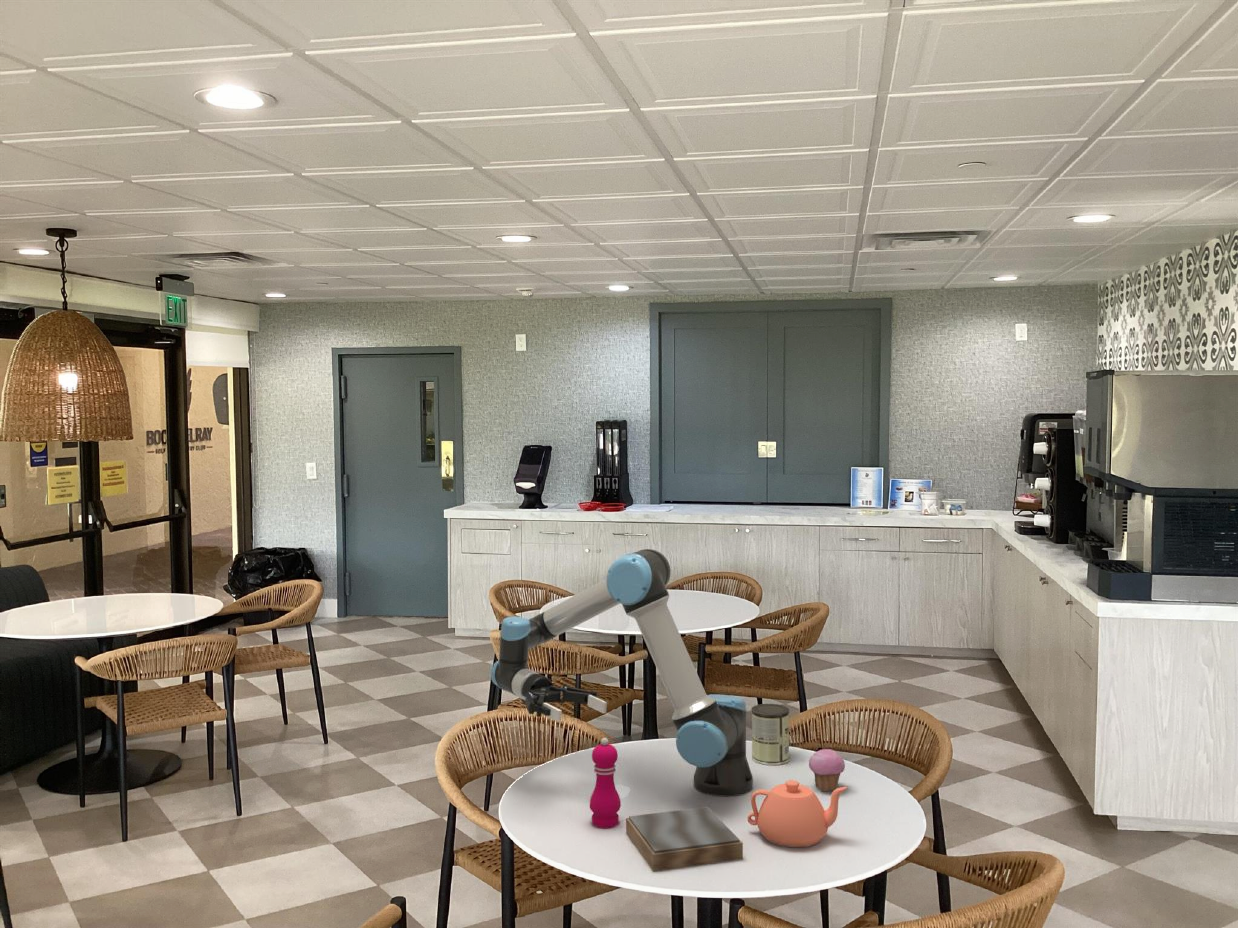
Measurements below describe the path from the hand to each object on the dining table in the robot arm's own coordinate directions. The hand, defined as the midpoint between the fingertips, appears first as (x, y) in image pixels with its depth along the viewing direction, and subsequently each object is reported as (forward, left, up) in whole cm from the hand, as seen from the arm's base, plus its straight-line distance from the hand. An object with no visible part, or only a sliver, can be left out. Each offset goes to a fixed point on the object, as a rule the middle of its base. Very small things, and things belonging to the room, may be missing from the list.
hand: (583, 712), depth 236 cm
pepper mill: (-3, +9, -24) cm, 26 cm away
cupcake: (-62, +5, -24) cm, 67 cm away
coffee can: (-58, -20, -24) cm, 66 cm away
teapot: (-42, +29, -24) cm, 56 cm away
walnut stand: (-16, +26, -24) cm, 38 cm away
